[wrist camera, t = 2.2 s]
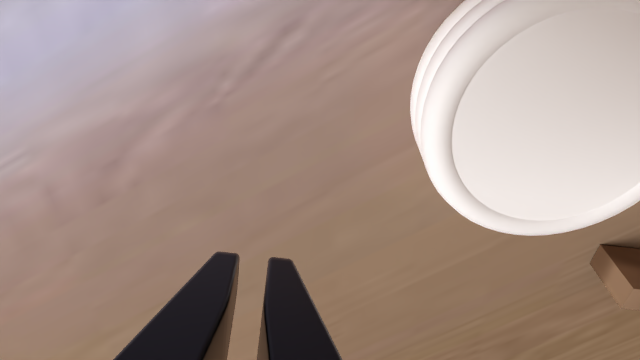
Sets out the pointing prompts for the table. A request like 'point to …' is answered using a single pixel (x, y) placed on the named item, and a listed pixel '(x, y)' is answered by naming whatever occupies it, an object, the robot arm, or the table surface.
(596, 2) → the coaster
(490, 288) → the table surface
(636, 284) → the wooden u-shaped frame
